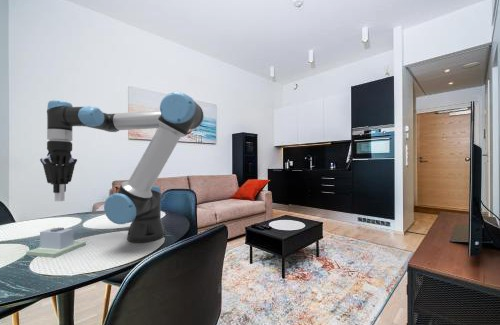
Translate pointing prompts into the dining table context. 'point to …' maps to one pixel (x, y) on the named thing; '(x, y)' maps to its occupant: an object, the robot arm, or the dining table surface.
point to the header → (54, 250)
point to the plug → (56, 238)
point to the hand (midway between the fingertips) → (59, 200)
